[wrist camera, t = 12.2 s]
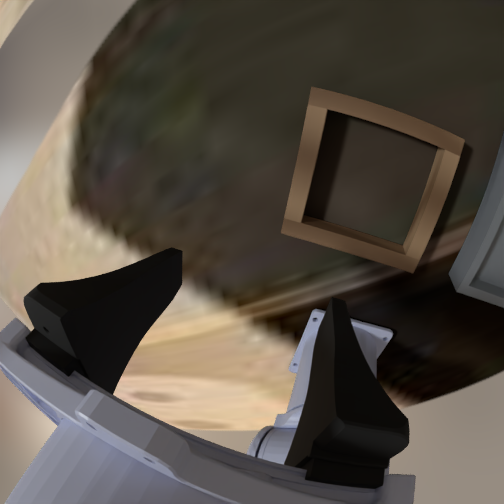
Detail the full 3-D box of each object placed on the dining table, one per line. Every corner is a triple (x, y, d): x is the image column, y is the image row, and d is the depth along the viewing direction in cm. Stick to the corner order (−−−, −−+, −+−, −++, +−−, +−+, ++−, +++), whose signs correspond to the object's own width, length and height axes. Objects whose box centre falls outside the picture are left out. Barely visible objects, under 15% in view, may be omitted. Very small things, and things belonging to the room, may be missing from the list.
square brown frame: (409, 262, 20) (413, 273, 19) (284, 224, 22) (280, 233, 21) (457, 136, 15) (464, 139, 13) (313, 88, 16) (311, 86, 15)
